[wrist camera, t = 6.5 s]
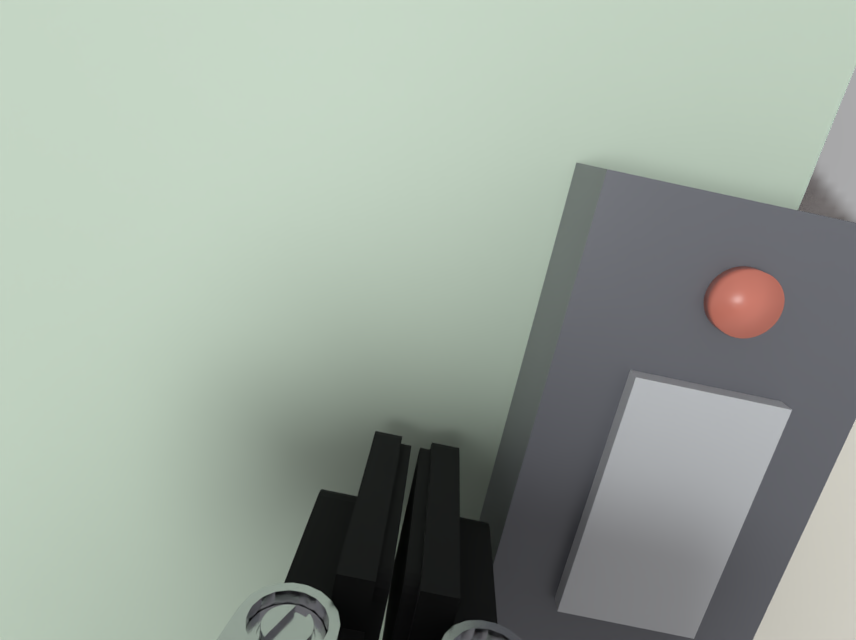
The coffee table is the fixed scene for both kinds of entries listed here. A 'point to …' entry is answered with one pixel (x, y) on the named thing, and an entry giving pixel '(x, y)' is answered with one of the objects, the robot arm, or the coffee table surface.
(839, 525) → the mat
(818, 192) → the coffee table surface
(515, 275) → the book
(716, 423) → the block
